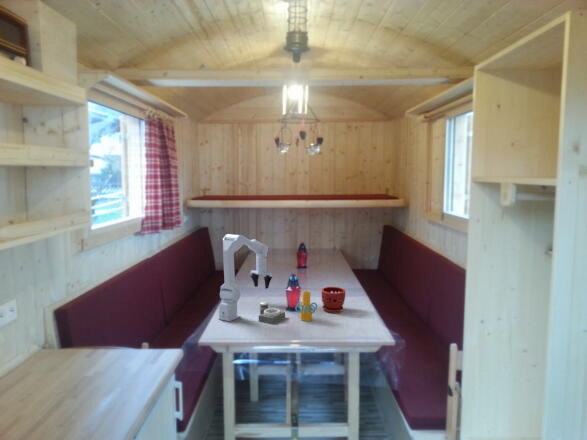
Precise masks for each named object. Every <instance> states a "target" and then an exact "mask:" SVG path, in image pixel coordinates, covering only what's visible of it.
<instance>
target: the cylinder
mask: <svg viewBox="0 0 587 440" xmlns="http://www.w3.org/2000/svg"><path fill="white" fill-rule="evenodd" d="M301 293H302V296H301V297H302V300H301V301H299V302H298V303H297V304H296V306H295V308H294V309H295V311H296V312H297V313H300V320H301V321H303V322H311V321H312V320H313V313H315V312H316V310H317V308H318V304H317V303H316V302H315V301H314V302H311V291H310V290H307V289H305V290H302V292H301Z"/></svg>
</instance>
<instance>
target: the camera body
mask: <svg viewBox="0 0 587 440" xmlns="http://www.w3.org/2000/svg"><path fill="white" fill-rule="evenodd" d="M283 319H286V312H285V311H282V310H280V309H278V308H268V309H266V310H264V313H263V314H259V315H258V322H261V323H266V324H270V325H273V324H275V323H277V322H280V321H282V320H283Z"/></svg>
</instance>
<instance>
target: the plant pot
mask: <svg viewBox="0 0 587 440" xmlns="http://www.w3.org/2000/svg"><path fill="white" fill-rule="evenodd" d="M345 301H346V289H344V288H342V287H340V286H326V287H323V288H322V289H321V302H322V304H323V305H322V306H321V309H323V311H325V312H326V313H335V314H337V313H341V312H342V311H343V310H344V303H345Z"/></svg>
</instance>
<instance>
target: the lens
mask: <svg viewBox="0 0 587 440" xmlns="http://www.w3.org/2000/svg"><path fill="white" fill-rule="evenodd" d="M266 309H269V302H268V301H261V302H259V315H261V314H263V313H264V310H266Z"/></svg>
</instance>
